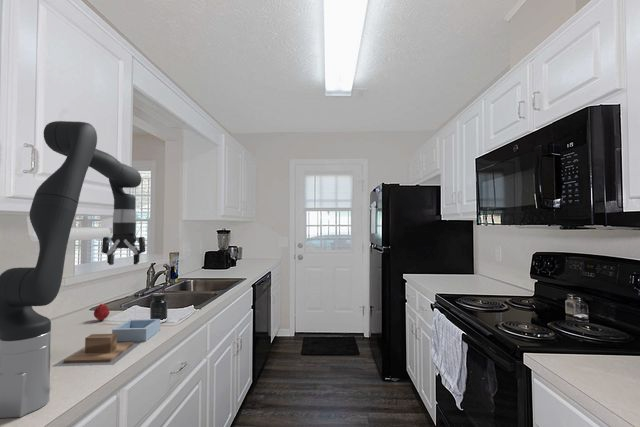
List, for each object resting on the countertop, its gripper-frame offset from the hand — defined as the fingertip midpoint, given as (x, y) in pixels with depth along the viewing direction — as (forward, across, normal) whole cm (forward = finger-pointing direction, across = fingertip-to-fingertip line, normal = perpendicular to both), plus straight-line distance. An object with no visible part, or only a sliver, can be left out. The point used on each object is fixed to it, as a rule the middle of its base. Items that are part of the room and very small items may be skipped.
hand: (123, 264), depth 122 cm
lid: (+28, -1, -14) cm, 31 cm away
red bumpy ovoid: (+28, -20, +26) cm, 43 cm away
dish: (+28, +4, +2) cm, 29 cm away
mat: (+28, -1, -14) cm, 31 cm away
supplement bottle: (+28, +6, +21) cm, 36 cm away
